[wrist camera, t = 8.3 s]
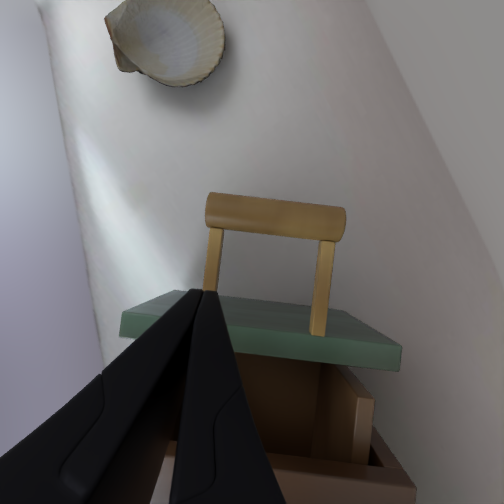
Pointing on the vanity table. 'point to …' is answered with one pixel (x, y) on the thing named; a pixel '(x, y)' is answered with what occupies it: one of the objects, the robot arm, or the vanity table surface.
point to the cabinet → (324, 478)
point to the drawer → (291, 338)
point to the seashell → (167, 39)
